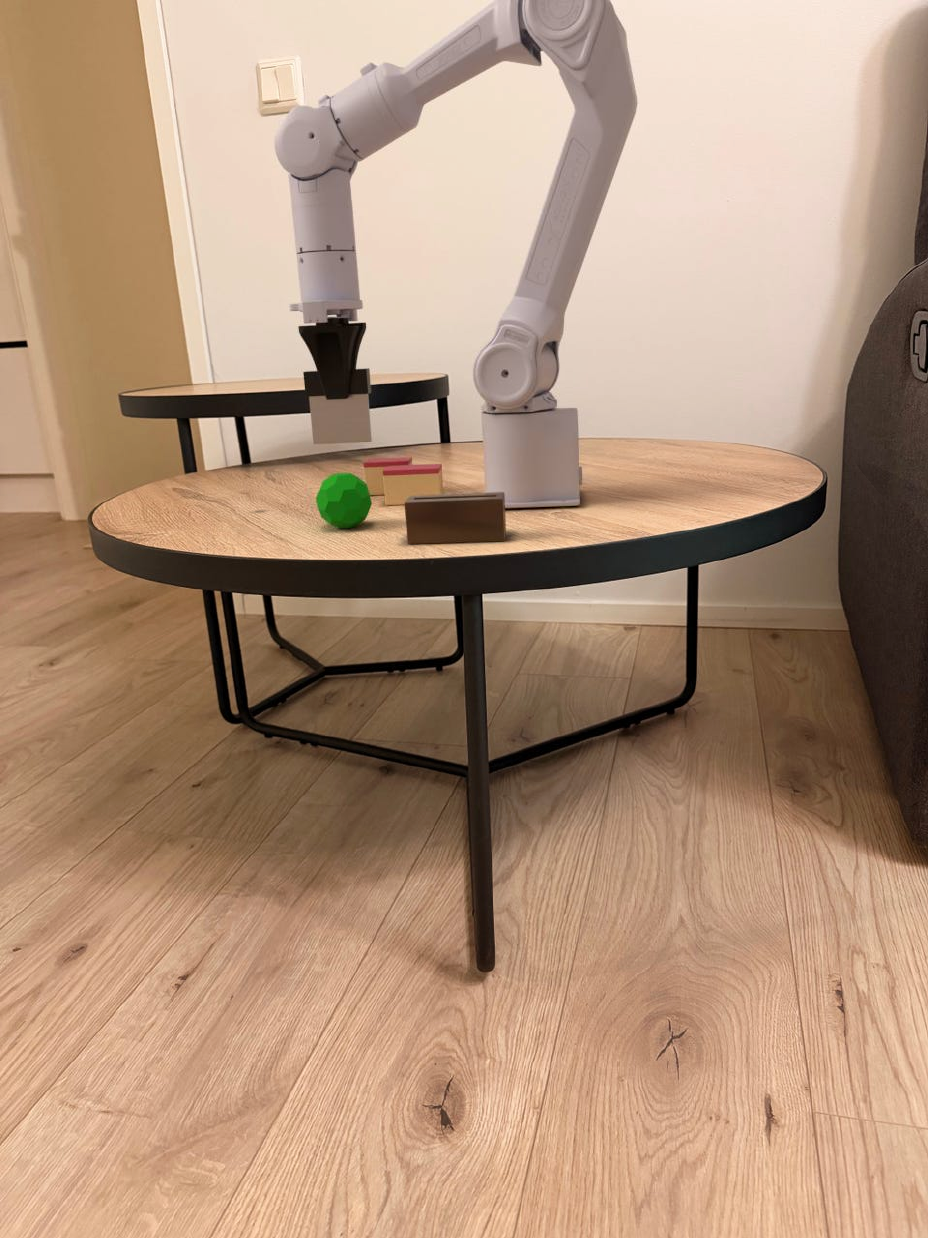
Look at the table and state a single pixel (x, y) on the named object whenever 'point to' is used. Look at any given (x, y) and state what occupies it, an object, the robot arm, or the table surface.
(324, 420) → the beige and brown block
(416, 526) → the knife block
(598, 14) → the robot arm
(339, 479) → the polyhedron
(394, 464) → the cake slice
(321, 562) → the table surface
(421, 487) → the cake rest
